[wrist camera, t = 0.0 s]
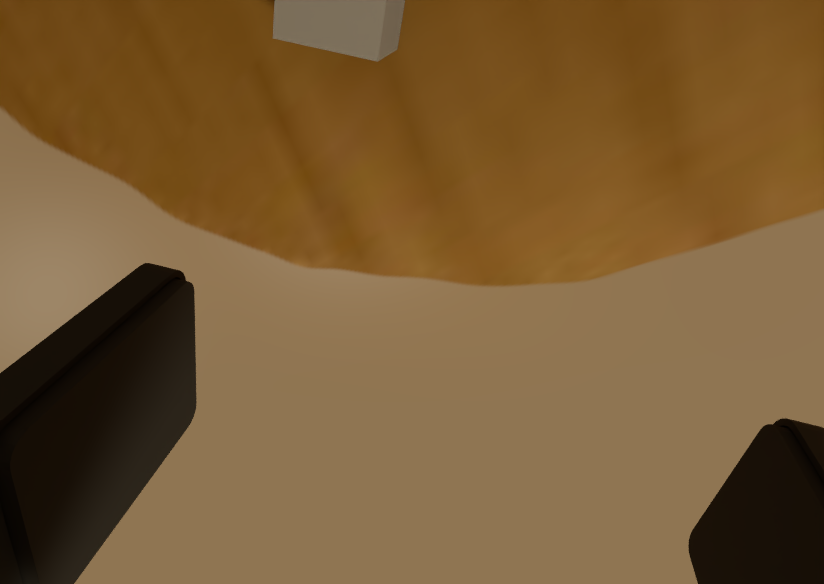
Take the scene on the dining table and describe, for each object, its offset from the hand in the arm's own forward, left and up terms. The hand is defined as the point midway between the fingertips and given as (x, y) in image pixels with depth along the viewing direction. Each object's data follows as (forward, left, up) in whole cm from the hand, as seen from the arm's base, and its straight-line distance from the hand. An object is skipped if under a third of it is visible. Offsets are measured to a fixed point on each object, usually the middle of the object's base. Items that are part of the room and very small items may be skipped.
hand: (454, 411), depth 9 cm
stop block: (-3, -10, -31) cm, 33 cm away
